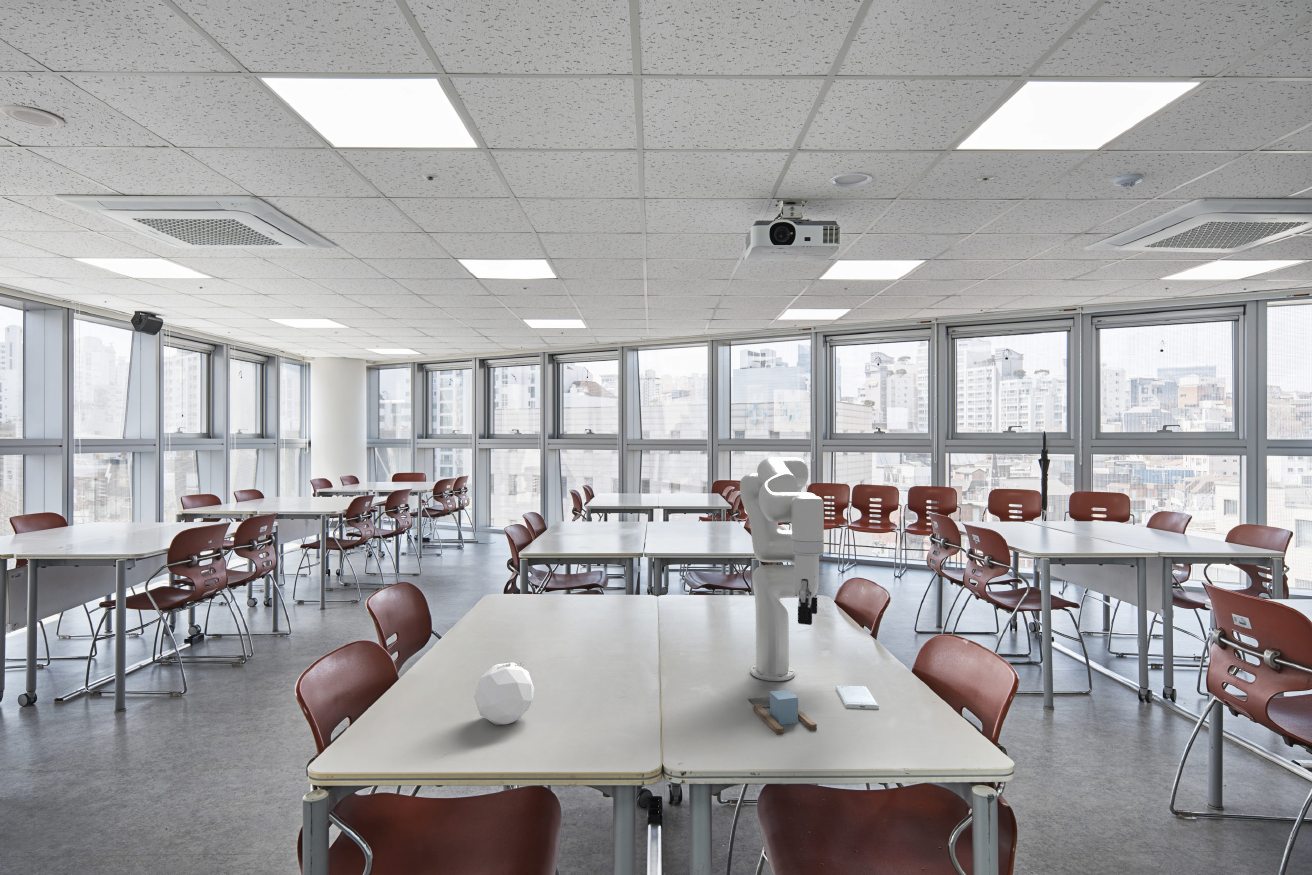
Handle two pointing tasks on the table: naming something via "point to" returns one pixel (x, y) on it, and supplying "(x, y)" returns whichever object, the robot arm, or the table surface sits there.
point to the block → (784, 707)
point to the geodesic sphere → (504, 693)
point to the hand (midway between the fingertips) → (807, 618)
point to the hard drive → (857, 697)
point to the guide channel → (765, 703)
